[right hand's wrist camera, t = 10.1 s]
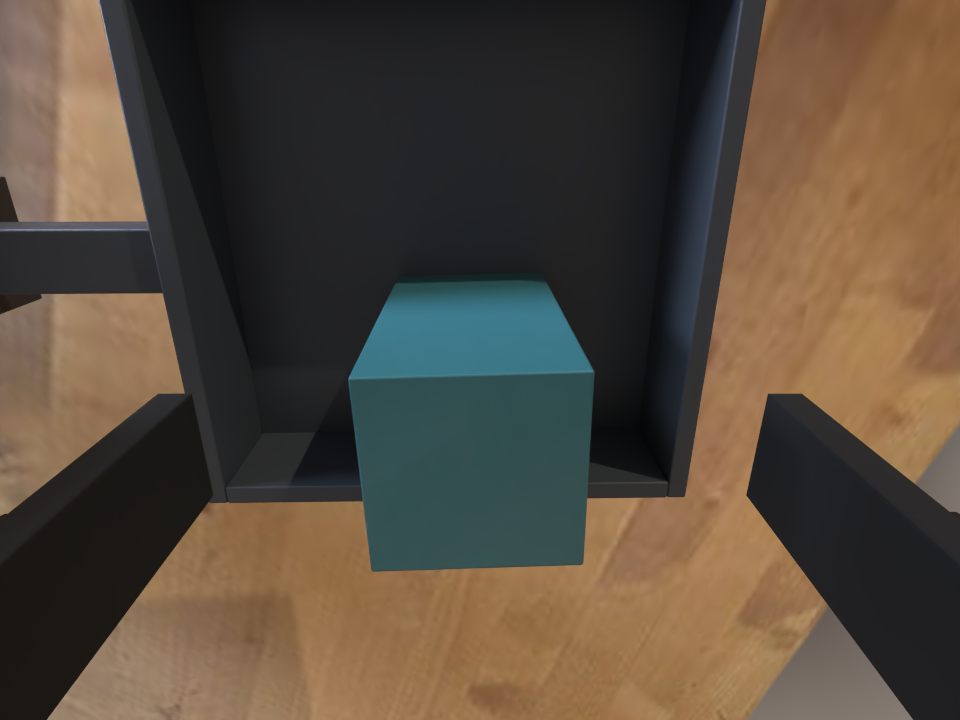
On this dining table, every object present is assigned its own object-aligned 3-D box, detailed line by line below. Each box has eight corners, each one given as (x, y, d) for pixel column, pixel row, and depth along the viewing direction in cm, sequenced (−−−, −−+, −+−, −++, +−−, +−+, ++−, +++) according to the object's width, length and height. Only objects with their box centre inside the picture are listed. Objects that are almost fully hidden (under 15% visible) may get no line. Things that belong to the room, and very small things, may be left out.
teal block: (398, 275, 19) (346, 378, 11) (541, 271, 19) (595, 370, 11) (408, 405, 20) (371, 572, 13) (539, 401, 20) (583, 565, 13)
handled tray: (-47, 441, 21) (-275, 576, 15) (-242, -35, 15) (-753, -158, 9) (647, 434, 22) (724, 562, 15) (706, -30, 16) (869, -143, 9)
